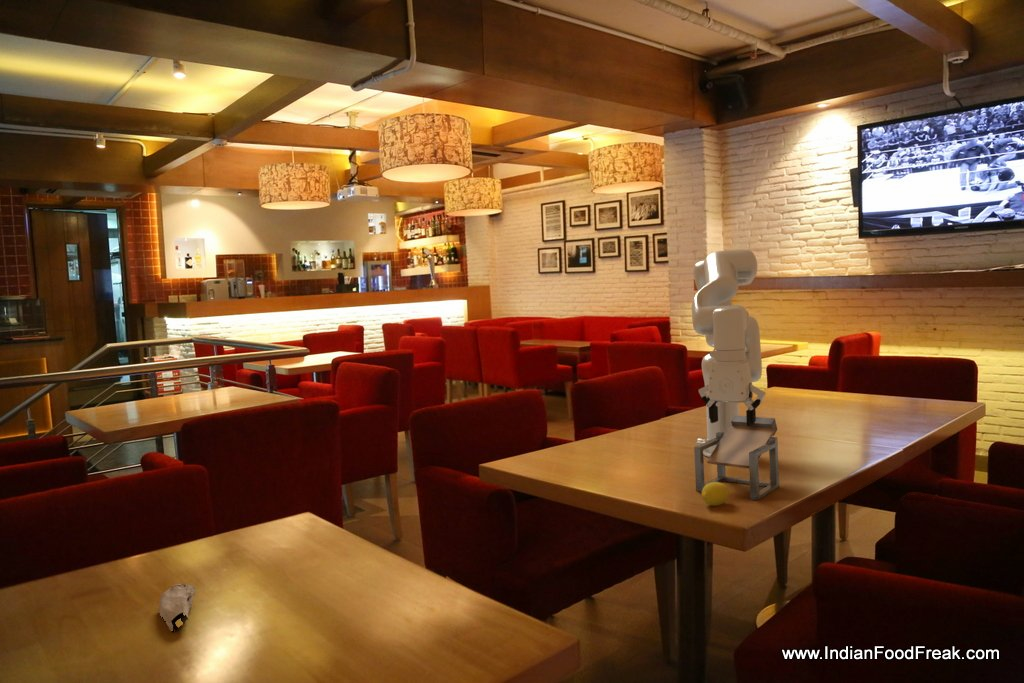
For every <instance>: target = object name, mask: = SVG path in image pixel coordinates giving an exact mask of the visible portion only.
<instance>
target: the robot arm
mask: <svg viewBox="0 0 1024 683" xmlns="http://www.w3.org/2000/svg"><path fill="white" fill-rule="evenodd" d="M757 273H758V260H757V257H756V255H755V253H754V252H753V251H751V250H749V249H733V250H719V251H714V252H711V253H710V254H708V255H707V256H706V258H705V259H703V260H700V261H698V262H696V263H695V264H694V266H693V278H694V284H695V286H696V289H697V292H696V294H695V295H694V297H693V298H692V302H691V320H692V327H693V330H694V331H695V333H696V334H698V335H700V336H705V342H706V344H707V346H709V347H711V348H713V350H712V351H709V353H708V354H706V355H704V356H703V357H702V360H701V371H702V377H703V382H704V386H703V387H701V388H698V394H699V395H700V397H701V400H702V401H703V403H704V404H706V405H705V407H706V408H705V410H706V432H707V434H706V436H707V438H706V439H703V438H697V439H696V446H698V445H700V444H702V443H705V442H707V441H709V440H712V439H714V438H716V433H718V432H723V433H724V434H725V433H726V431H727V430H728V428H729V427H730V425H732V423H731V420H732V419H733V417H734V416H735V415H736V416H740V413H739V412H740V411H739V408H740V407H739V404H740V403H743V404H744V406H746V408H747V409H746V411H745V413H746V414H745V416H746V418H747V426H751V425H754V423H755V421H756V417H757V416H756V413H757V412H756V409H757V408H758V407H759V406H760V405H761V404H762V403H763V401H764V398H765V396H766V392H765V391H764V390H762V389H760V388H758V387H757V386H755V385H753V383H756V382H758V381H759V380H760V379H762V375H763V374H762V373H763V366H762V365H763V364H762V363H763V362H762V350H761V334H760V327H759V323H758V320H757V319H756V318H755V317H753V316H752V315H750V313H749V311H748V310H747V309H746V308H745V307H744V306H743V305H739V304H737V305H736V304H735V305H734V304H733V301H732V299H733V298H735V296H736V295H737V293H738V290H739V286H747V285H751V284H752V283H753V281H754V280H755V278H756V276H757ZM754 394H755V395H756V399H755V400H754V399H753V396H754ZM715 448H716V445H713V446H711V447H709V448H707V449H704V450H703V456H705V457H707V458H709V457H710V456H711V454H712V453H713V451H714V449H715Z"/></svg>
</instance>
